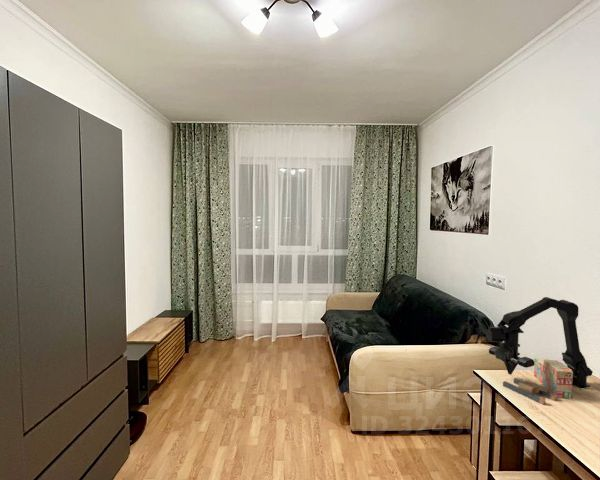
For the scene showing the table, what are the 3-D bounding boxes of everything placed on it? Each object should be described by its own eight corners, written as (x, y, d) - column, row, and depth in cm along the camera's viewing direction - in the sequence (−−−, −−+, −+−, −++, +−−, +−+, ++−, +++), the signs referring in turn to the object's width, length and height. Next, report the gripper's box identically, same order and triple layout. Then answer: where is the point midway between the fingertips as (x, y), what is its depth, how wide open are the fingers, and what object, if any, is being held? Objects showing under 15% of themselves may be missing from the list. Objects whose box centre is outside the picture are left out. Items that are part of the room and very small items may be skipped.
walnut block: (525, 389, 162) (526, 380, 161) (539, 395, 156) (539, 386, 156) (518, 391, 160) (518, 382, 159) (531, 397, 154) (531, 388, 154)
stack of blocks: (533, 375, 174) (534, 351, 174) (547, 376, 173) (548, 352, 172) (555, 397, 154) (556, 370, 153) (572, 399, 152) (573, 371, 151)
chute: (515, 382, 168) (515, 376, 168) (556, 400, 151) (556, 394, 151) (502, 385, 164) (503, 380, 164) (543, 404, 148) (543, 399, 148)
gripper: (481, 337, 170) (480, 369, 171) (519, 351, 153) (517, 386, 154) (497, 334, 174) (496, 365, 175) (535, 347, 157) (534, 381, 158)
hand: (509, 374), depth 166 cm, fingers closed
